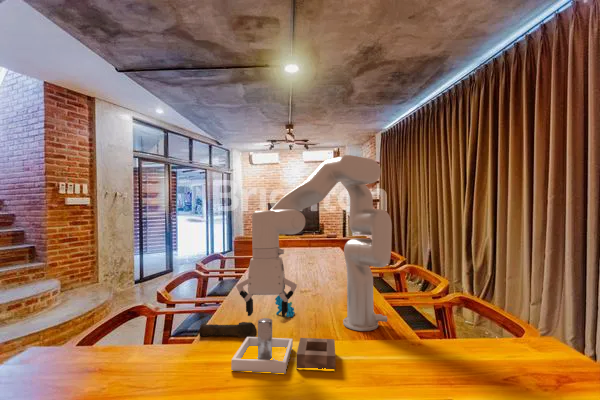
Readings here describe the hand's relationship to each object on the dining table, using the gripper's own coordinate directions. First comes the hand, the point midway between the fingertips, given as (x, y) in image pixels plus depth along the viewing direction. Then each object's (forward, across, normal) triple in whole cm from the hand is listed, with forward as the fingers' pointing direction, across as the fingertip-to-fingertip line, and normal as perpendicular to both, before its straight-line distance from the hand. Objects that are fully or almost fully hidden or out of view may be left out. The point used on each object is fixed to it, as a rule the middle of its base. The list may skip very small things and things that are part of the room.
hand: (267, 314), depth 79 cm
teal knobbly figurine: (+13, 0, -35) cm, 38 cm away
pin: (+11, +1, +1) cm, 11 cm away
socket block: (+12, -14, 0) cm, 18 cm away
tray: (+12, +1, +1) cm, 12 cm away
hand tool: (+12, +16, -14) cm, 25 cm away
